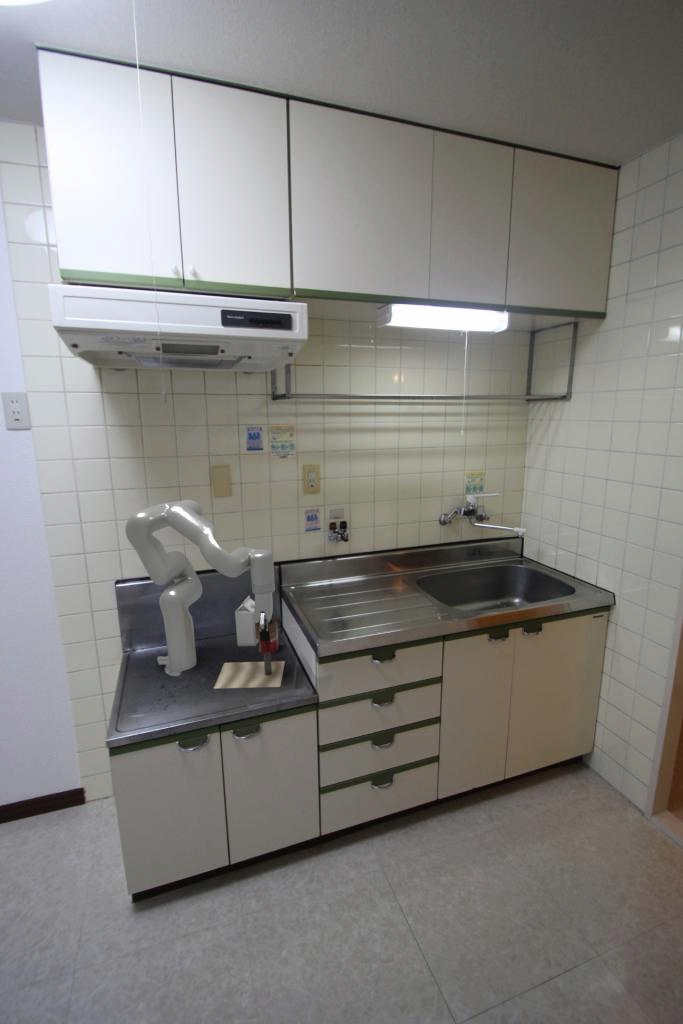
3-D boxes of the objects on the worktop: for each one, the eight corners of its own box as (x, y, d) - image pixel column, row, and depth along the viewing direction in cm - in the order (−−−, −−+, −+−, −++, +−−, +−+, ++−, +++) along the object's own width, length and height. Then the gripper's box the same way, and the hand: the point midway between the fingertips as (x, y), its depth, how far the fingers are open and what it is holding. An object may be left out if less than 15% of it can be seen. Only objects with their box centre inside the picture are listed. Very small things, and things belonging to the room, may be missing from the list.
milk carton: (237, 647, 184) (234, 602, 180) (244, 638, 191) (241, 594, 187) (254, 648, 183) (251, 603, 179) (260, 639, 190) (258, 595, 185)
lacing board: (213, 692, 154) (211, 668, 152) (224, 666, 170) (222, 643, 168) (280, 690, 155) (279, 666, 153) (285, 664, 170) (284, 642, 168)
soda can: (280, 648, 182) (279, 620, 180) (276, 658, 175) (274, 628, 173) (262, 647, 183) (260, 619, 180) (257, 657, 176) (255, 628, 173)
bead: (254, 640, 156) (254, 627, 155) (258, 631, 162) (257, 618, 161) (275, 640, 156) (274, 626, 155) (277, 630, 162) (276, 617, 161)
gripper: (256, 577, 164) (259, 624, 167) (247, 597, 147) (251, 649, 150) (277, 577, 164) (280, 624, 168) (271, 596, 147) (274, 648, 151)
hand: (266, 635), depth 159 cm, fingers closed on bead, 6 cm apart
